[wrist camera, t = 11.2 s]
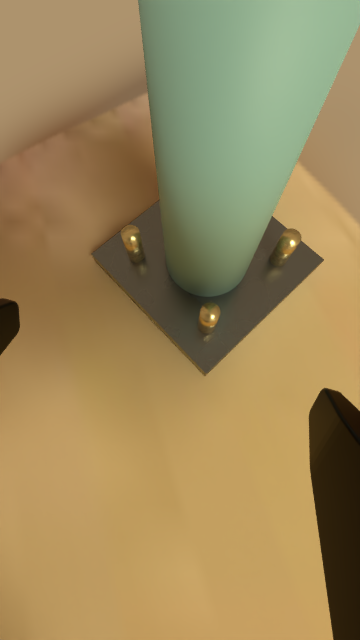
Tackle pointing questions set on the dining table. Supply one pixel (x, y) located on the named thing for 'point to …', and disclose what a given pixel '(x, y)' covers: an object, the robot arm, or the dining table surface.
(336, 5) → the teal wooden post
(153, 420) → the dining table surface
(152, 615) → the dining table surface
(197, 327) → the plate
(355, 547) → the robot arm
